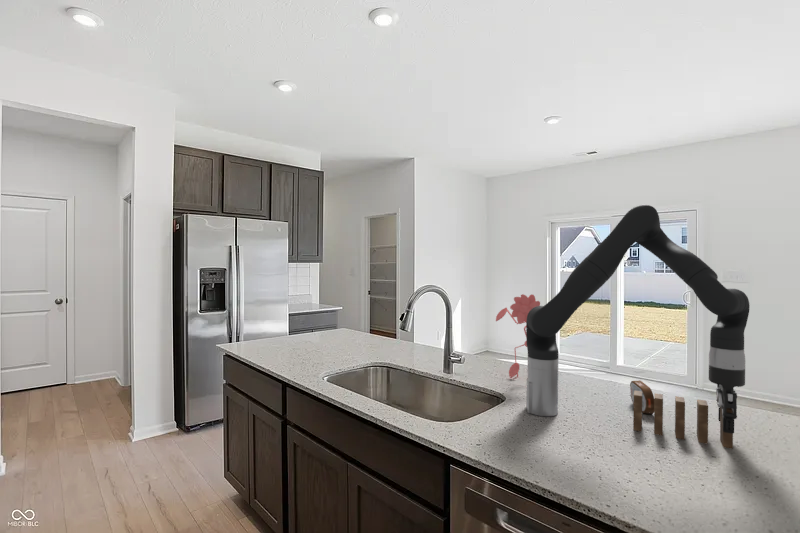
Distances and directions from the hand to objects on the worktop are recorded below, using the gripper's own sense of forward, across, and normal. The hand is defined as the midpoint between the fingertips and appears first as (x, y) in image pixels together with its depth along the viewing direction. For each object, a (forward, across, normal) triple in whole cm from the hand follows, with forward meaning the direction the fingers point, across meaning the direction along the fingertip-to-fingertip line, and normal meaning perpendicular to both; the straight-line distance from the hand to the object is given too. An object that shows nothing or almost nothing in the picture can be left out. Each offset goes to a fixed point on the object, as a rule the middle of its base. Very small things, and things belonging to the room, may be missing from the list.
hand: (725, 427), depth 109 cm
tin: (+5, +19, +20) cm, 28 cm away
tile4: (+4, 0, +5) cm, 7 cm away
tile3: (+4, 0, +10) cm, 11 cm away
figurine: (+5, +31, +60) cm, 68 cm away
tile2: (+4, 0, +15) cm, 16 cm away
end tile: (+4, 0, 0) cm, 4 cm away
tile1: (+4, 0, +20) cm, 20 cm away
